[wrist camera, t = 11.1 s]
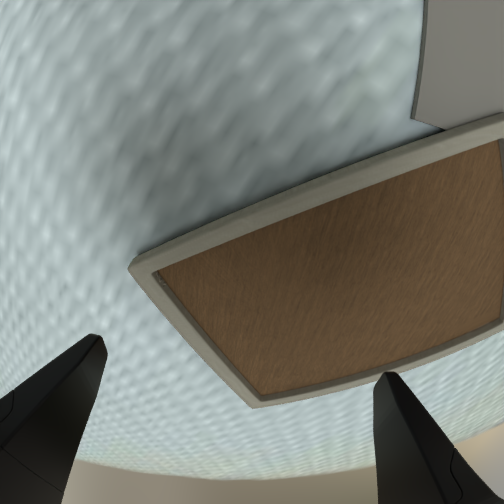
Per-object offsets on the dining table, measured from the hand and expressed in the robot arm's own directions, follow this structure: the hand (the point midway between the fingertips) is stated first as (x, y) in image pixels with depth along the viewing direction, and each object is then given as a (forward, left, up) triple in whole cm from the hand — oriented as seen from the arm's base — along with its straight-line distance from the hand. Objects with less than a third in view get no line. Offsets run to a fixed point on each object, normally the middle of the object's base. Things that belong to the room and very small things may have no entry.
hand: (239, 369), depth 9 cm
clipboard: (+5, +9, -12) cm, 16 cm away
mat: (-13, +18, -12) cm, 25 cm away
